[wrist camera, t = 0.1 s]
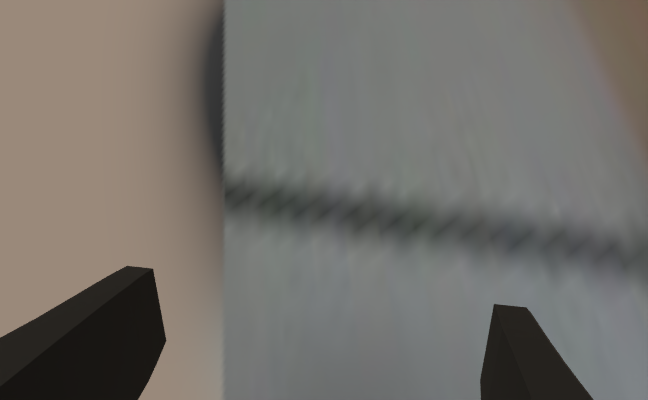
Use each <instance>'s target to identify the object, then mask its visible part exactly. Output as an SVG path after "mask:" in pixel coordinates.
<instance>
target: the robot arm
mask: <svg viewBox="0 0 648 400" xmlns="http://www.w3.org/2000/svg"><path fill="white" fill-rule="evenodd" d="M165 342H166V337H165V332H164V326H163V321H162V315H161V310H160V304H159V299H158V294H157V288H156V283H155V277H154V272H153V269H150V268H141V267H132V266H126V267H124V268H122V269H120V270H119V271H116V272H115V273H113V274H111V275H109V276H107V277H106V278H104V279H102V280H101V281H99V282H97V283H95V284H94V285H92V286H91V287H89V288H87V289H85V290H84V291H82V292H81V293H79V294H77V295H75V296H74V297H72V298H70V299H68V300H67V301H65V302H63V303H62V304H60V305H58V306H56V307H55V308H53V309H51V310H50V311H48V312H46V313H44V314H43V315H41V316H39V317H38V318H36V319H34V320H32V321H31V322H28V323H27V324H25V325H23V326H21V327H19V328H17V329H16V330H14V331H12V332H10V333H8V334H7V335H5V336H3V337H1V338H0V400H138V398H139V397H140V395H141V393H142V392H143V390H144V388H145V386H146V385H147V383H148V381H149V379H150V377H151V375H152V372H153V370H154V368H155V366H156V364H157V361H158V359H159V357H160V354H161V352H162V349H163V347H164V345H165ZM480 384H481V400H593V398H592V397H591V396H590V395H589V393H588V392H587V391H586V389H585V388H584V387H583V385H582V384H581V383H580V382H579V380H578V379H577V378H576V376H575V375H574V374H573V373H572V371H571V370H570V368H569V367H568V366H567V364H566V363H565V362H564V360H563V359H562V358H561V356H560V355H559V353H558V352H557V350H556V349H555V348H554V346H553V345H552V343H551V342H550V340H549V339H548V338H547V336H546V335H545V333H544V332H543V330H542V329H541V327H540V326H539V324H538V323H537V321H536V320H535V318H534V317H533V315H532V314H531V312H530V311H529V310H528V309H527V308H526V307H516V306H507V305H497V304H494V307H493V313H492V318H491V324H490V329H489V335H488V341H487V346H486V352H485V357H484V363H483V368H482V374H481V379H480Z"/></svg>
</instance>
